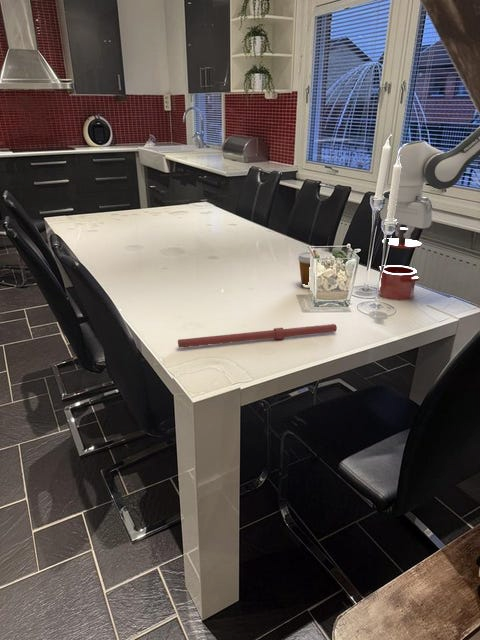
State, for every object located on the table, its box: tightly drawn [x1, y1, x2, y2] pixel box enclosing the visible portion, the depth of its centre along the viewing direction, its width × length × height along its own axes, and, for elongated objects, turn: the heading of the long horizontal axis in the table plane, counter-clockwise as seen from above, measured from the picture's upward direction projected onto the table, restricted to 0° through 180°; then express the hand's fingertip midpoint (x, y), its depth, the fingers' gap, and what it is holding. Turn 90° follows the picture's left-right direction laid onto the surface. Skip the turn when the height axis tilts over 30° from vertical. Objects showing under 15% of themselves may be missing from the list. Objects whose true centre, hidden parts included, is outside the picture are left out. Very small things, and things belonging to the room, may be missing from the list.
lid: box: [381, 227, 423, 249], centre depth 155 cm, size 13×13×6 cm
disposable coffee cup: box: [297, 251, 311, 285], centre depth 174 cm, size 10×10×12 cm
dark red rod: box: [177, 323, 338, 349], centre depth 129 cm, size 45×3×3 cm, turn 102°
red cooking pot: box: [378, 265, 420, 301], centre depth 161 cm, size 12×17×10 cm
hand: (402, 237), depth 155 cm, fingers closed on lid, 2 cm apart
